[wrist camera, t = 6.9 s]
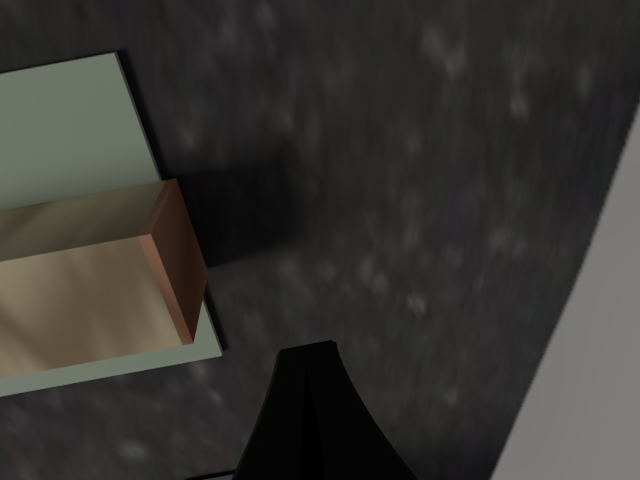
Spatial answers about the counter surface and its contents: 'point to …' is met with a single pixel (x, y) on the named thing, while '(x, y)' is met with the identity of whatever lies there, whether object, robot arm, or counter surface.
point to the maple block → (98, 278)
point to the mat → (80, 176)
